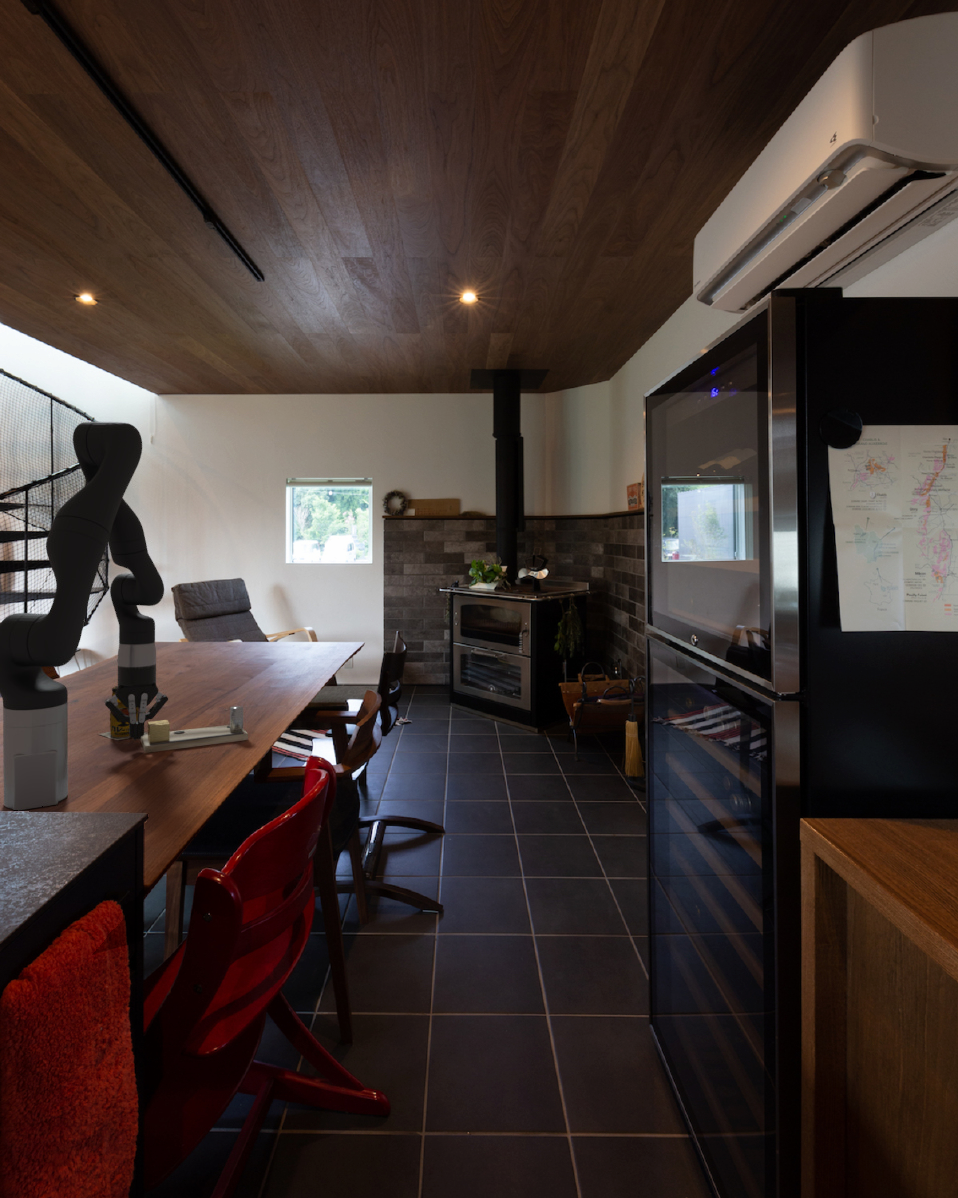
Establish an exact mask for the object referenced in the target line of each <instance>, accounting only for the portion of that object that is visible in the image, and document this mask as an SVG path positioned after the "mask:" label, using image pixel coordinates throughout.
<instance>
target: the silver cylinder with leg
mask: <svg viewBox="0 0 958 1198" xmlns="http://www.w3.org/2000/svg"><path fill="white" fill-rule="evenodd" d="M229 725H230V733H241V732H243V729H244V706H242V705H241V706H240V705H235V706H230V708H229Z"/></svg>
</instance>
